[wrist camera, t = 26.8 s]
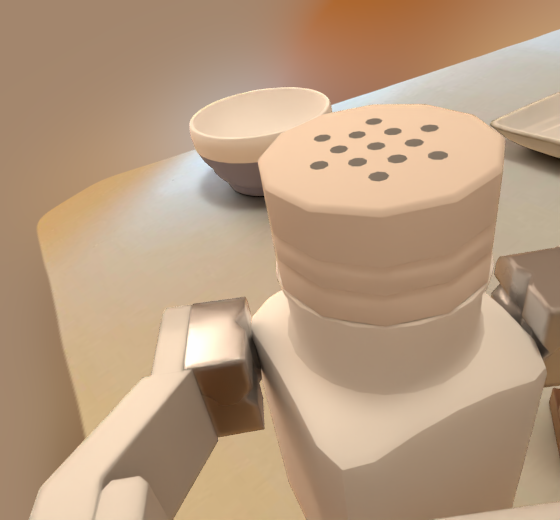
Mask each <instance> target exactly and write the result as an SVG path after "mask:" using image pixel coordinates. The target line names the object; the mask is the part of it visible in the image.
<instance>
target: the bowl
mask: <svg viewBox="0 0 560 520" xmlns="http://www.w3.org/2000/svg"><path fill="white" fill-rule="evenodd" d="M328 113H332V108H331V103H330V100H329V98H328V97H327V96H325V95H324V94H323V93H321V92H318V91H315V90H311V89H306V88H295V87H294V88H293V87H282V88H269V89H260V90H255V91H249V92H245V93H241V94H236V95H233V96H230V97H226V98H224V99H221V100H218V101H216V102H214V103H212V104H209V105H207V106H206V107H204V108H202V109H201V110H199V111H198V112H197V113H196V114H195V115H194V116H193V117H192V119H191V120H190V124H189V127H190V135H191V138H192V141H193V144H194V147H195V149H196V151H197V153H198V154H199V155H200V156H201V158H202V159H203V160H204V161H205V163H207V164H208V165H209V166H210V167H211V168H213V169H214V172H215V173H216V174H217V175H218V176H219V177H221V178H222V179H223V180H225V181H227V182H229V184H230V186H231V187H232V188H233V189H234V190H235V191H237V192H239V193H242V194H245V195H252V196H264V192H263V187H262V181H261V176H260V171H259V166H258V160H259V158H260V157H261V156H262V154H263V153H264V152H265V151H266V150H267V149H268V148H269V146H270V145H271V144H272V143H273V142H274V141H275V140H276V138H277V137H278V136H279V135H280V134H281V133H283V132H285V131H288V130H290V129H292V128H294V127H296V126H299V125H301V124H303V123H305V122H307V121H310V120H312V119H314V118H316V117H318V116H321V115H323V114H328Z"/></svg>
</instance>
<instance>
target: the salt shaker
mask: <svg viewBox="0 0 560 520" xmlns="http://www.w3.org/2000/svg"><path fill="white" fill-rule="evenodd" d="M505 143H506V140H505V138H504V137H503V136H502V135H501V134H499V133H498V132H497V131H495V130H494V129H492V128H491V127H490V126H488V125H487V124H486V123H484V122H483V121H481V120H480V119H479V118H477V117H476V116H475V115H472V114H467V113H463V112H458V111H453V110H449V109H444V108H440V107H435V106H431V105H426V104H385V105H368V106H363V107H358V108H353V109H348V110H343V111H338V112H333V113H328V114H323V115H321V116H318V117H316V118H314V119H312V120H310V121H307V122H305V123H303V124H301V125H299V126H296V127H294V128H292V129H290V130H288V131H285V132H283V133H281V134H280V135H279V136H278V137H277V138H276V140H275V141H274V142H273V143H272V144H271V145H270V146H269V148H268V149H267V150H266V151H265V152H264V153H263V154H262V156H261V157H260V158H259V160H258V166H259V171H260V176H261V181H262V187H263V192H264V197H265V202H266V207H267V213H268V218H269V223H270V228H271V232H272V239H273V244H274V250H275V255H276V274H277V280H278V282H279V284H280V286H281V288H282V290H281V291H279V292H278V293H276V294H274V295H272V296H271V297H270V298H268V299H267V300H266V302H265V303H264V304H263V305H262V306H261V307H260V309H259V310H258V311H257V312H256V313H255V315H254V316H253V317H252V323H251V329H252V339H253V341H254V343H255V346H256V349H257V353H258V357H259V361H260V365H261V370H262V382H263V386H264V390H265V393H266V397H267V401H268V405H269V409H270V413H271V416H272V420H273V424H274V428H275V432H276V436H277V439H278V443H279V447H280V451H281V455H282V459H283V462H284V466H285V470H286V474H287V478H288V482H289V484H290V486H291V488H292V490H293V492H294V494H295V497H296V499H297V501H298V503H299V505H300V507H301V509H302V511H303V513H304V515H305V518H306V520H432V519H439V518H446V517H453V516H460V515H467V514H474V513H481V512H488V511H495V510H502V509H509V508H512V506H513V502H514V498H515V494H516V491H517V487H518V483H519V479H520V475H521V471H522V468H523V464H524V460H525V456H526V452H527V448H528V445H529V441H530V437H531V433H532V429H533V425H534V422H535V418H536V414H537V410H538V406H539V403H540V399H541V395H542V391H543V387H544V383H545V380H546V376H547V371H546V367H545V364H544V362H543V359H542V357H541V354H540V352H539V349H538V347H537V345H536V342H535V340H534V339H533V338H532V337H531V336H530V335H529V334H528V333H527V332H526V331H525V330H524V329H523V328H522V327H521V326H520V325H519V324H518V323H517V322H516V320H515V319H514V318H513V317H512V316H511V315H510V314H509V313H508V312H507V311H506V310H505V309H504V308H503V307H502V306H501V305H499V304H498V303H497V302H496V301H495V300H494V299H492V298H491V297H490V296H489V295H488V294H487V293H485V291H486V289H487V288H488V285H489V282H490V279H491V276H492V273H493V269H494V262H493V254H492V249H493V242H494V234H495V226H496V219H497V212H498V204H499V197H500V189H501V181H502V174H503V164H504V153H505Z"/></svg>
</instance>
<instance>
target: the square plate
mask: <svg viewBox="0 0 560 520" xmlns="http://www.w3.org/2000/svg"><path fill="white" fill-rule="evenodd" d="M490 126H492V127H493V128H494V129H496V130H497V131H498V132H499V133H500V134H501V135H503V136H504V137H506V138H507V139H509V140H511V141H513V142H515V143H517V144H519V145H521V146H524V147H526V148H529V149H532V150H535V151H538V152H541V153H544V154H548V155H551V156H554V157H557V158H560V92H558V93H555V94H553V95H551V96H548V97H546V98H544V99H541V100H539V101H536V102H534V103H532V104H529V105H527V106H525V107H523V108H520V109H518V110H516V111H513V112H511V113H509V114H507V115H505V116H502V117H500V118H498V119H496V120H493V121H492V122H491V123H490Z"/></svg>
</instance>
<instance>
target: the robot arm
mask: <svg viewBox="0 0 560 520" xmlns="http://www.w3.org/2000/svg"><path fill="white" fill-rule="evenodd" d="M494 275H495V276H496V278H497V279H498V281H499V282H500V284H499V285H498V286H497V288H496V289H495V290H494V291H493V292H492V293H491V298H492V299H494V300H495V301H496V302H497V303H498V304H499V305H501V306H502V307H503V308H504V309H505V310H506V311H507V312H508V313H509V314H510V315H511V316H512V317H513V318H514V319H515V320H516V322H517V323H518V324H519V325H520V326H521V327H522V328H523V329H524V330H525V331H526V332H527V333H528V334H529V335H530V336H531V337H532V338H533V339H534V340H535V342H536V345H537V347H538V349H539V352H540V354H541V357H542V359H543V362H544V364H545V367H546V371H547V376H546V380H545V383H544V387H552V386H560V246H557V247H555V248H549V249H543V250H537V251H531V252H525V253H518V254H512V255H506V256H500V257H499V259H498V261H497V262H496V266H495V272H494ZM261 379H262V370H261V365H260V361H259V357H258V353H257V349H256V346H255V343H254V341H253V339H252V329H251V312H250V308H249V305H248V301H247V299H246V297H240V298H233V299H225V300H218V301H211V302H203V303H196V304H193V305H184V306H177V307H170V308H166V309H165V311H164V312H163V314H162V318H161V323H160V329H159V334H158V339H157V345H156V350H155V356H154V361H153V366H152V372H151V376H146V377H142V378H141V379H140V380H139V382H138V383H137V384H136V385H135V386H134V387H133V388H132V389H131V390H130V391H129V392H128V393H127V394H126V396H125V397H124V398H123V399H122V400H121V401H120V402H119V403H118V404H117V405H116V406H115V407H114V409H113V410H112V411H111V412H110V413H109V414H108V415H107V416H106V417H105V418H104V419H103V420H102V421H101V423H100V424H99V425H98V426H97V427H96V428H95V429H94V430H93V431H92V432H91V433H90V434H89V436H88V437H87V438H86V439H85V440H84V441H83V442H82V443H81V444H80V445H79V446H78V448H77V449H76V450H75V451H74V452H73V453H72V454H71V455H70V456H69V457H68V458H67V459H66V460H65V461H64V463H63V464H62V465H61V466H60V467H59V468H58V469H57V470H56V471H55V472H54V473H53V474H52V475H51V477H50V478H49V479H48V480H47V481H46V482H45V483H44V484H43V485H42V486H41V488H40V489H39V492H38V495H37V498H36V501H35V504H34V507H33V509H32V512H31V515H30V518H29V520H173V519H174V517H175V515H176V513H177V512H178V510H179V508H180V506H181V505H182V503H183V501H184V499H185V498H186V496H187V494H188V492H189V491H190V489H191V487H192V485H193V484H194V482H195V480H196V478H197V477H198V475H199V473H200V471H201V470H202V468H203V466H204V464H205V463H206V461H207V459H208V458H209V456H210V454H211V452H212V451H213V449H214V447H215V445H216V444H217V442H218V438H217V437H223V436H229V435H234V434H240V433H245V432H251V431H257V430H262V429H264V408H263V396H262V392H261V388H260V384H259V382H260V381H261ZM544 387H543V388H544ZM432 520H560V501H559V502H552V503H545V504H538V505H531V506H524V507H517V508H509V509H502V510H495V511H488V512H481V513H474V514H467V515H460V516H453V517H446V518H439V519H432Z"/></svg>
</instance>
